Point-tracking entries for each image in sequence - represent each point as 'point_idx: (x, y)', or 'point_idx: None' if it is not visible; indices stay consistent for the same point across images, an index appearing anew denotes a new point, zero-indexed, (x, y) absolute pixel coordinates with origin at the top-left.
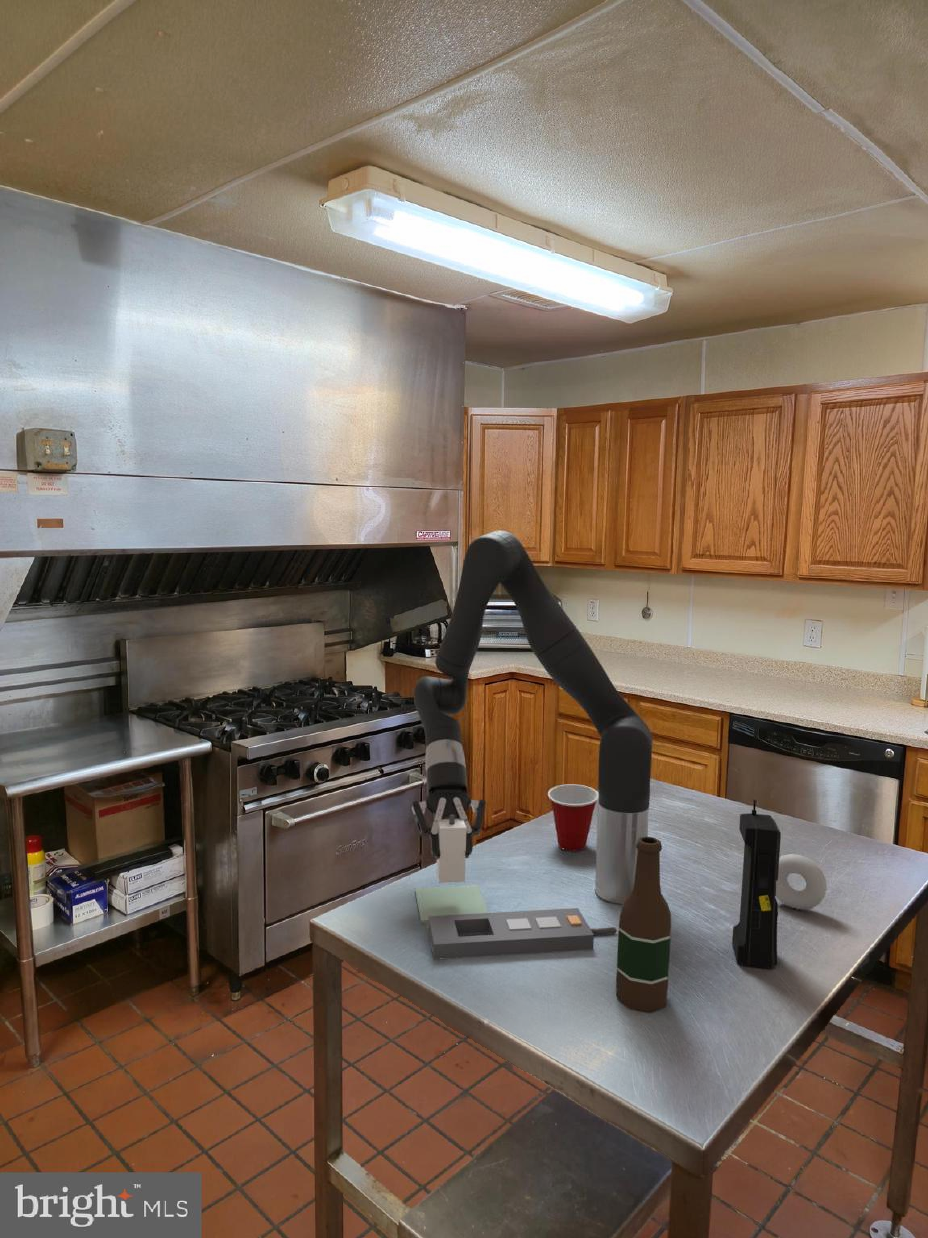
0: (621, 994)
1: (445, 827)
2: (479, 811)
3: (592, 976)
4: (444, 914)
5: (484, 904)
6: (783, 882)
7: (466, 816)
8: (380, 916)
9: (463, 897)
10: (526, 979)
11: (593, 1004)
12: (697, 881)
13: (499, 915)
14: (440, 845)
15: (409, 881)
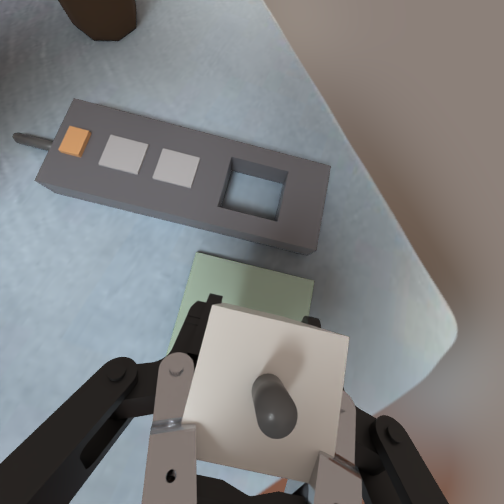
0: (133, 6)
1: (320, 342)
2: (16, 492)
3: (135, 71)
4: (269, 286)
5: (184, 297)
6: None
7: (150, 445)
8: (372, 328)
9: None
10: (221, 97)
11: (170, 31)
12: None
13: (193, 208)
14: (314, 326)
15: None
